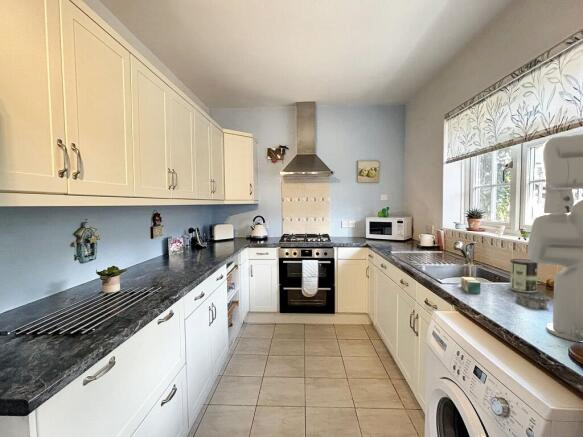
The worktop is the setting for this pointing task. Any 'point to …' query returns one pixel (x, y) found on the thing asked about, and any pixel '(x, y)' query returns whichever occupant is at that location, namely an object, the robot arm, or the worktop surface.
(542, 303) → the egg carton
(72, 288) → the worktop surface
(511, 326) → the worktop surface
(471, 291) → the maple block
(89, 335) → the worktop surface
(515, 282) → the coffee can
